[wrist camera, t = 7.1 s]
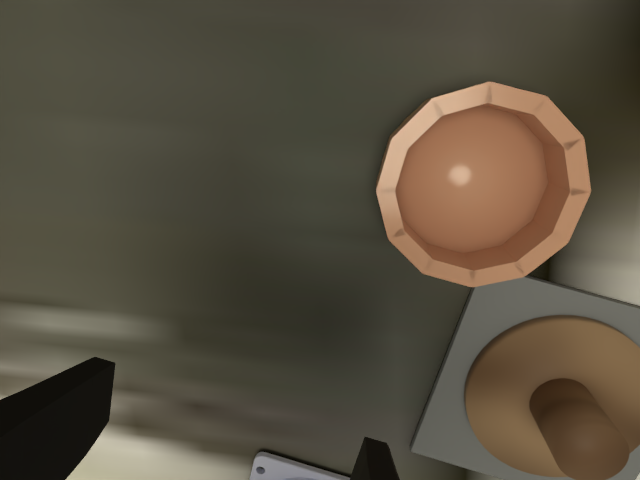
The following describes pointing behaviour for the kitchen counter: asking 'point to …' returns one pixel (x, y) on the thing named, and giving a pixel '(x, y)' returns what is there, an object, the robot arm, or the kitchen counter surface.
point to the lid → (557, 397)
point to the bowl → (483, 184)
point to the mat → (473, 335)
